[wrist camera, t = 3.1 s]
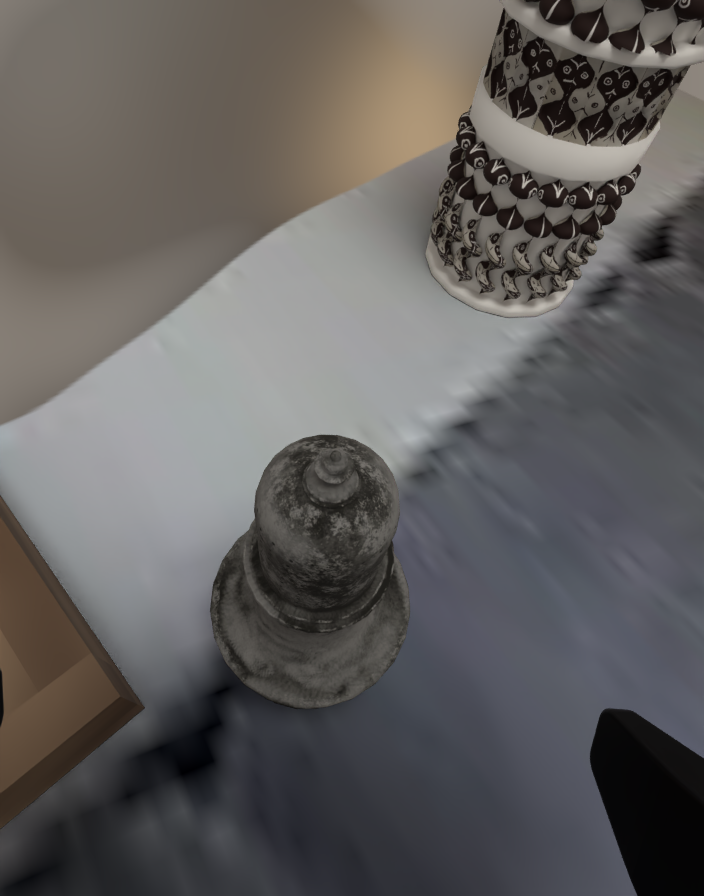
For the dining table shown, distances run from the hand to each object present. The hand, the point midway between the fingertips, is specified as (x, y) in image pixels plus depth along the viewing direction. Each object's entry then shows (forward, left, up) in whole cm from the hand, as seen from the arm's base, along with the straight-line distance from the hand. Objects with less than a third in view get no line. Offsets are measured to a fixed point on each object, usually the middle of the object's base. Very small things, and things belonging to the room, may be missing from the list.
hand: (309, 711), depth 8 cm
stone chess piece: (+3, +3, -11) cm, 11 cm away
